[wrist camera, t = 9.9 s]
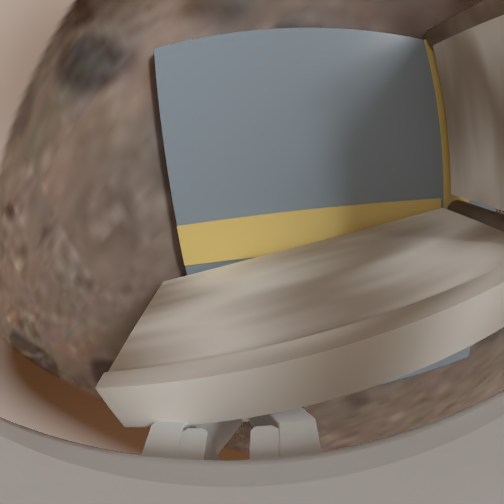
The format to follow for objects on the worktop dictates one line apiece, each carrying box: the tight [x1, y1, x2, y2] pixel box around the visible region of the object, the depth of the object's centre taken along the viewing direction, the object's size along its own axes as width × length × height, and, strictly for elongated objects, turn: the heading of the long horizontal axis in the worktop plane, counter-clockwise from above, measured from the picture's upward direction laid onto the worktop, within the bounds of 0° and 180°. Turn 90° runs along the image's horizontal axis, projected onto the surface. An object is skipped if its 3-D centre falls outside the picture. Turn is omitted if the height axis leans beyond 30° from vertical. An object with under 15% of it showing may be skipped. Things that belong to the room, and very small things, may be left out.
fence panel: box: [95, 208, 504, 427], centre depth 8 cm, size 12×1×6 cm, turn 105°
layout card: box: [154, 28, 496, 385], centre depth 11 cm, size 17×15×1 cm
